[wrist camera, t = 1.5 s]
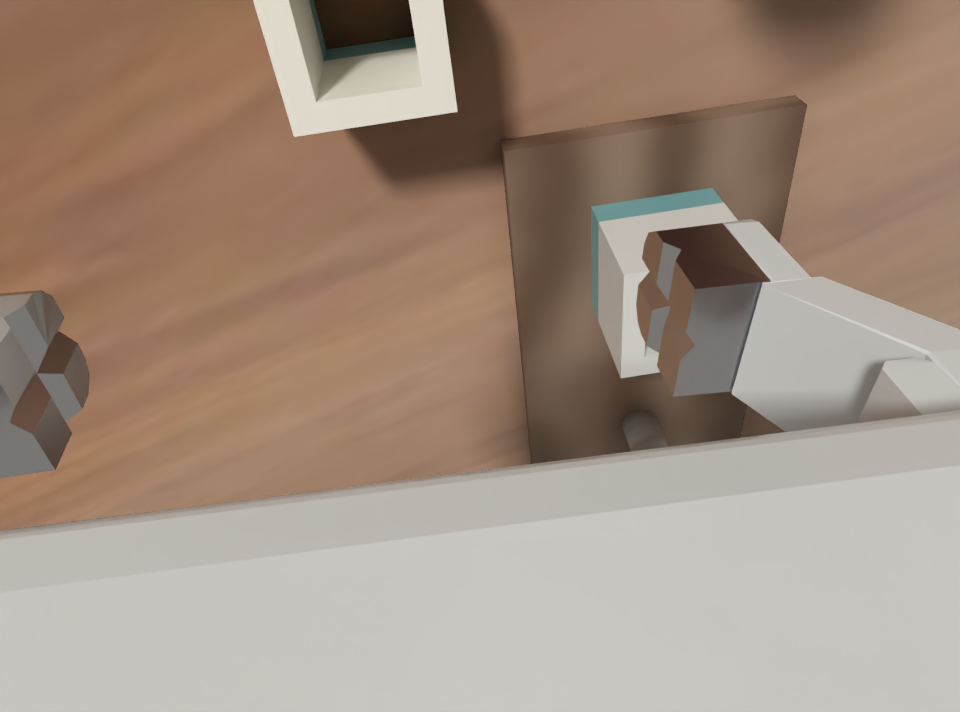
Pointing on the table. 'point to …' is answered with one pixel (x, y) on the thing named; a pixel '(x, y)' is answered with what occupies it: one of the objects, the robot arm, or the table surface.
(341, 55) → the cream sleeve
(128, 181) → the table surface
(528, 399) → the pin board
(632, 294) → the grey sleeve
